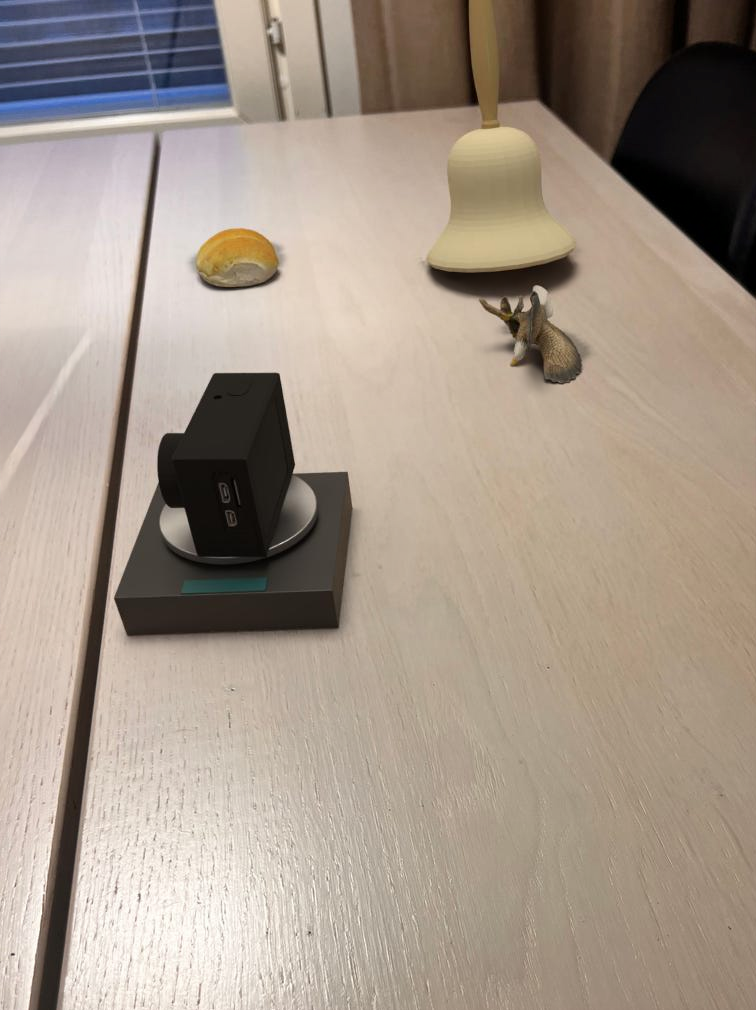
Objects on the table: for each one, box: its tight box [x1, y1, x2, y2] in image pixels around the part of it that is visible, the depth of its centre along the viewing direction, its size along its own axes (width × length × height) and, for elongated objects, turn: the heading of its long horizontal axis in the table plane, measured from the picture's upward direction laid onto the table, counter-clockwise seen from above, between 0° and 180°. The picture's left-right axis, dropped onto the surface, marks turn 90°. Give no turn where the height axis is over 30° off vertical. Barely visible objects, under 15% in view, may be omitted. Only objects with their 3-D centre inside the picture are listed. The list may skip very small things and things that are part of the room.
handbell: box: [425, 0, 577, 273], centre depth 95 cm, size 15×15×25 cm
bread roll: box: [195, 227, 280, 288], centre depth 101 cm, size 8×9×4 cm
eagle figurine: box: [478, 285, 583, 384], centre depth 84 cm, size 8×7×9 cm
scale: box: [113, 471, 353, 636], centre depth 64 cm, size 13×13×3 cm
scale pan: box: [159, 475, 318, 565], centre depth 63 cm, size 10×10×1 cm
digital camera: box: [156, 372, 296, 557], centre depth 61 cm, size 10×5×7 cm, turn 178°
